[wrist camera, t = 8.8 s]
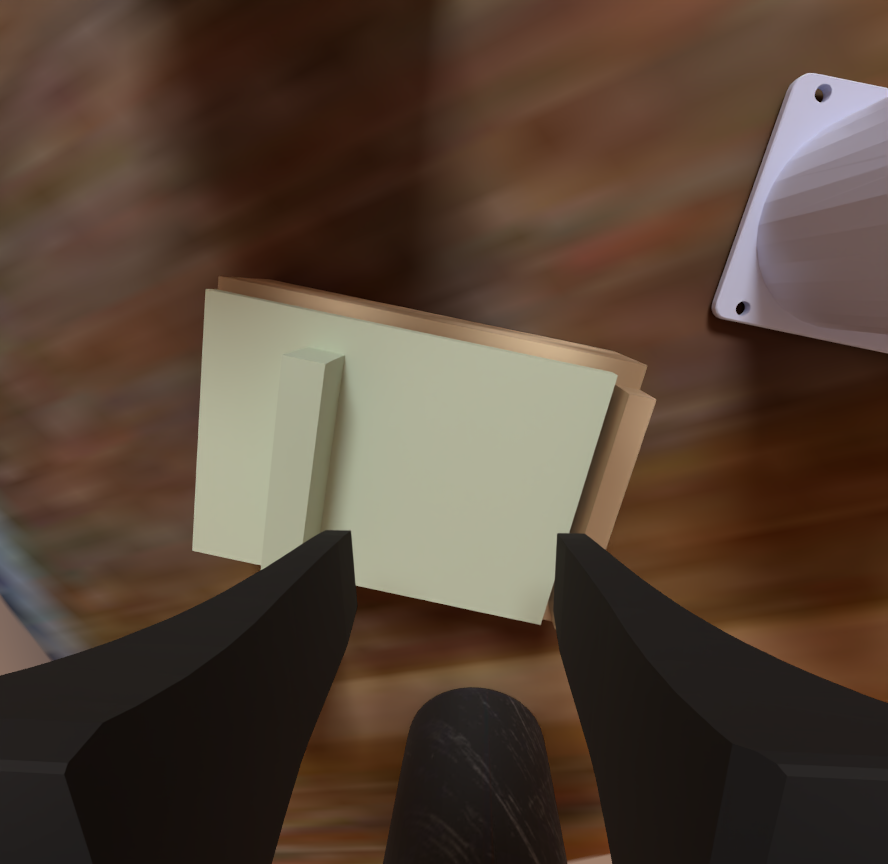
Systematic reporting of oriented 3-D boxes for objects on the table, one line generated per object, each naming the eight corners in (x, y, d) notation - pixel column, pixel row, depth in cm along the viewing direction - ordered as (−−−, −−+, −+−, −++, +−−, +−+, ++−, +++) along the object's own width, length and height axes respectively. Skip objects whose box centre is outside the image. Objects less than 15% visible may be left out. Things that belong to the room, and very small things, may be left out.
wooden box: (612, 351, 19) (665, 373, 14) (548, 565, 22) (570, 652, 17) (270, 279, 19) (191, 274, 14) (250, 502, 22) (179, 568, 17)
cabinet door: (612, 372, 15) (639, 388, 12) (538, 614, 18) (548, 667, 15) (216, 289, 15) (163, 288, 13) (201, 542, 18) (156, 583, 15)
